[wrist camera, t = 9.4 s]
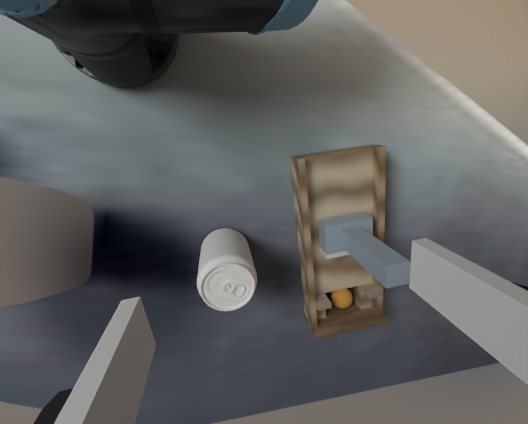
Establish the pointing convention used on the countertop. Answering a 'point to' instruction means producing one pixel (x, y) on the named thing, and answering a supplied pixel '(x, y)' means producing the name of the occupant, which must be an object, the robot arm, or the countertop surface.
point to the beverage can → (226, 270)
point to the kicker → (363, 248)
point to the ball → (342, 298)
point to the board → (332, 205)
